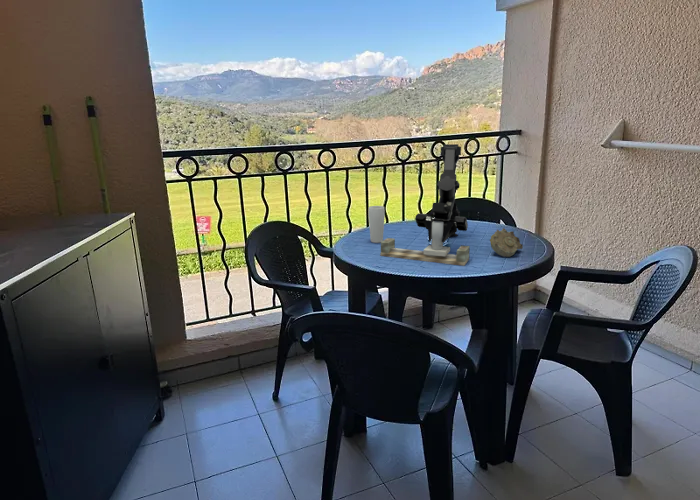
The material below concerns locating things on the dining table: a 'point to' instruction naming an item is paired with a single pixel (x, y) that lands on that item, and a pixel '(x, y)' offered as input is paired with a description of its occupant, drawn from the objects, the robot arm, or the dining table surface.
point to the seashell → (505, 243)
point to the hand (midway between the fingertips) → (436, 241)
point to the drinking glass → (376, 223)
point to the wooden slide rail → (391, 251)
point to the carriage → (437, 241)
